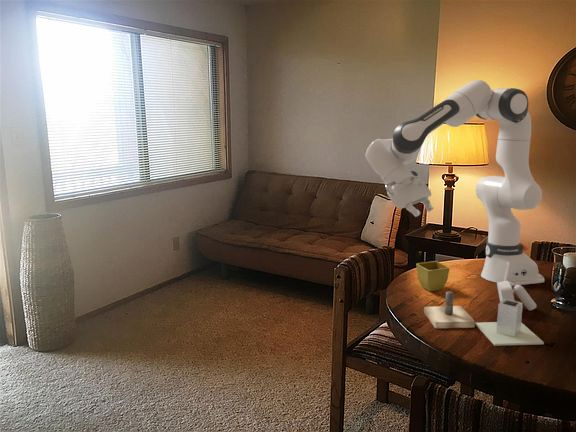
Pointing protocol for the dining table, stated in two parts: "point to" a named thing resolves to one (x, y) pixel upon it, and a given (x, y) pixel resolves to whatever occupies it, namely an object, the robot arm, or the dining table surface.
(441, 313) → the peg stand
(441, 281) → the flower pot
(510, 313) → the steel sleeve
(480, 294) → the dining table surface
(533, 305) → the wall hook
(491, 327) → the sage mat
